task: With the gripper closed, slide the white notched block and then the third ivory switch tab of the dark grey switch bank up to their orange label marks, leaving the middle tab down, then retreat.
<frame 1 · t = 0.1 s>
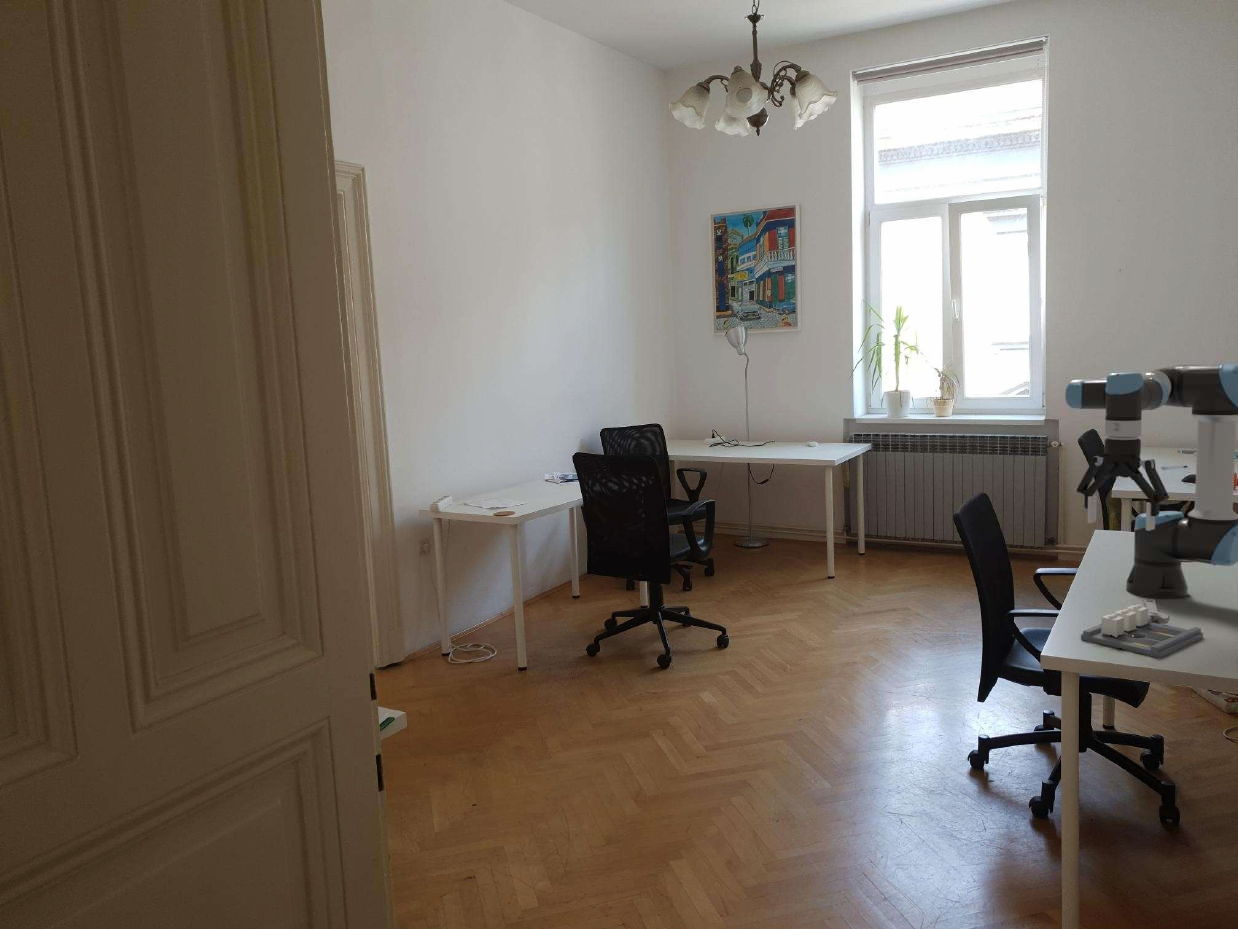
hand: (1120, 526, 214), 28 cm above the table, fingers open, 13 cm apart
adjustable wrench: (1154, 615, 233), on the table, touching switch bank
tab 2: (1125, 619, 219), point 4 cm above the table, slide at 0.0 cm
switch bank: (1141, 638, 217), on the table
tab 3: (1112, 624, 216), point 4 cm above the table, slide at 0.0 cm
white notched block 1: (1136, 614, 223), point 4 cm above the table, slide at 0.0 cm
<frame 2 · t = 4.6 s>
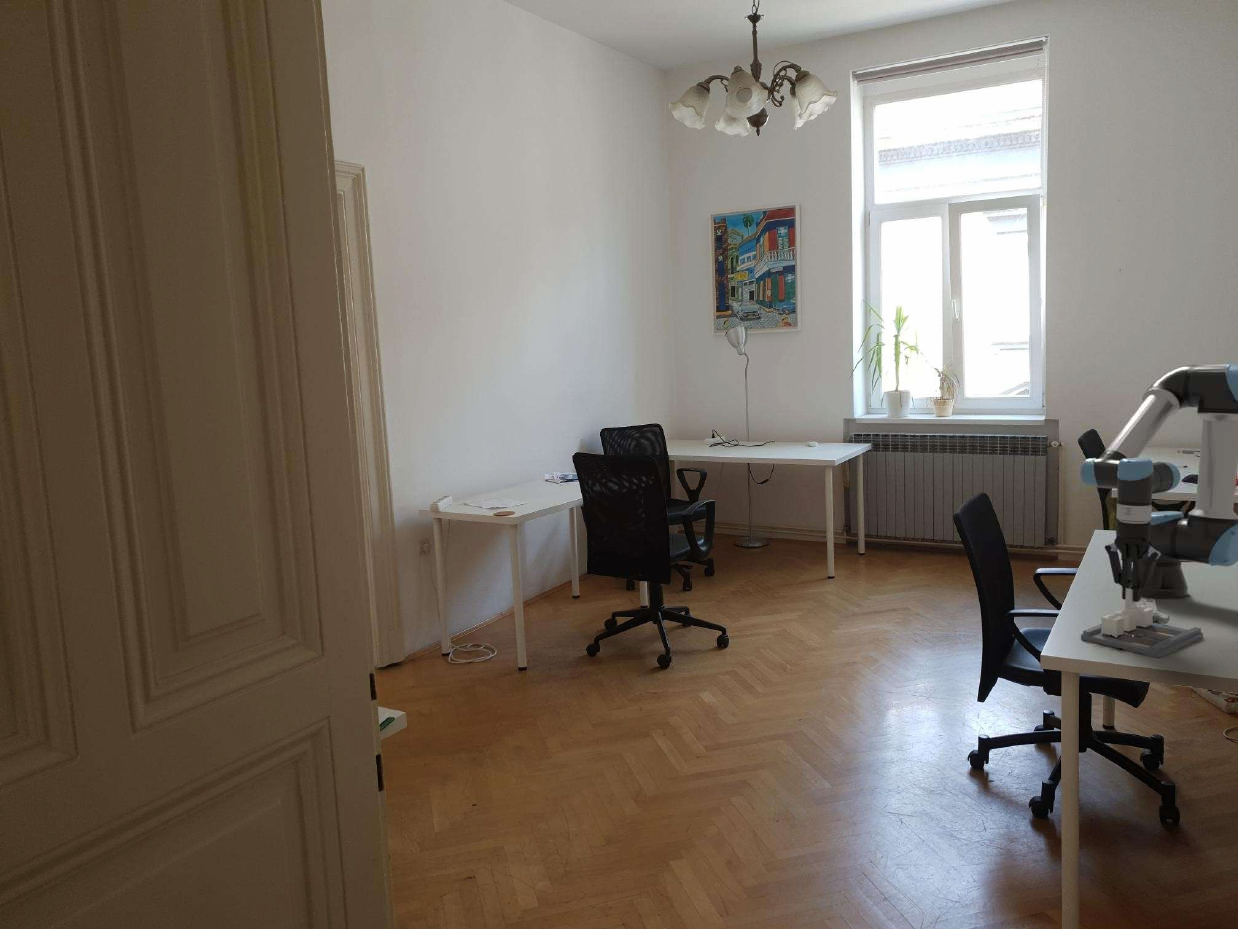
hand: (1130, 613, 224), 4 cm above the table, fingers closed
white notched block 1: (1141, 615, 222), point 4 cm above the table, slide at 1.1 cm, touching gripper
everything else where it was.
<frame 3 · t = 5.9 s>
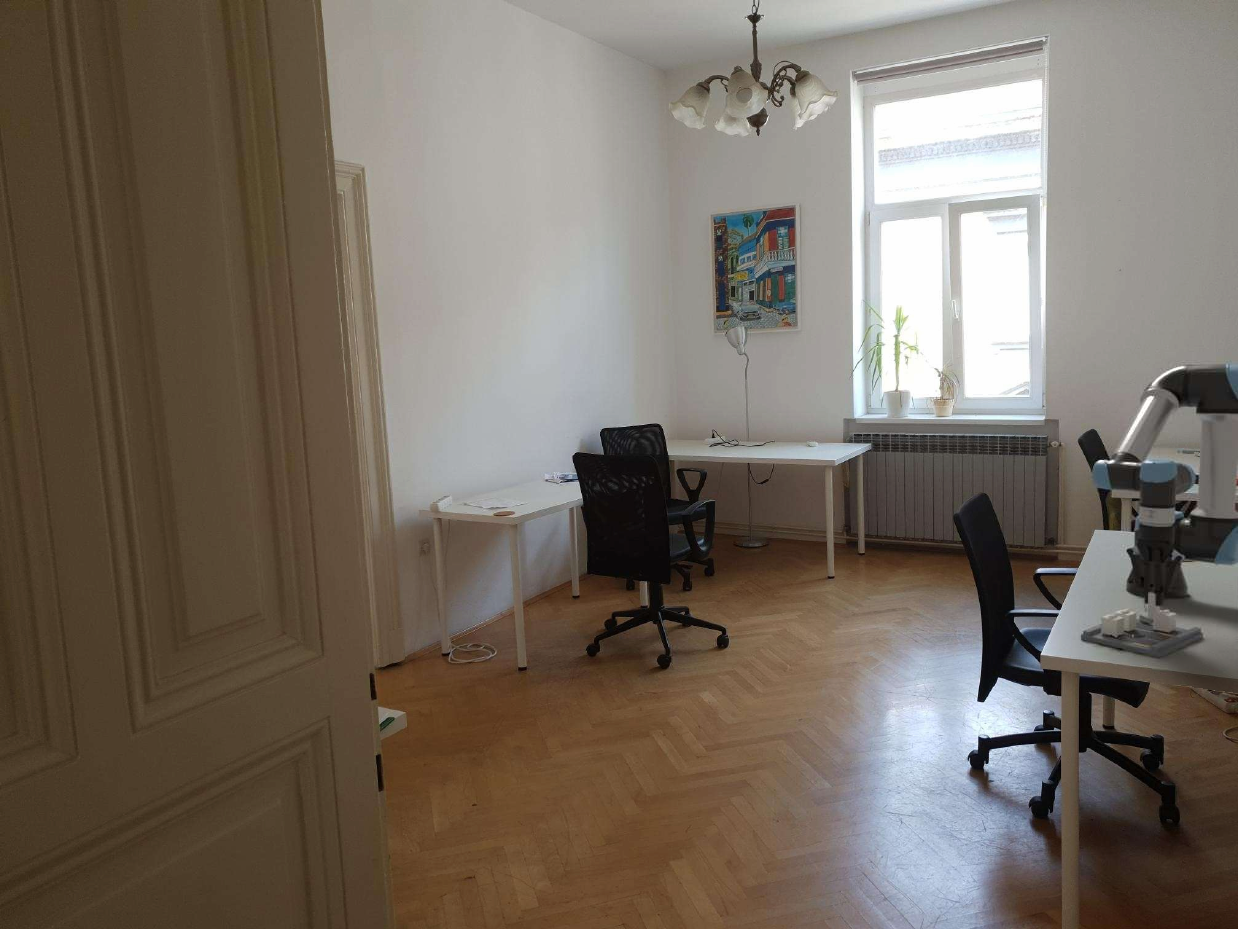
hand: (1153, 617, 220), 4 cm above the table, fingers closed
white notched block 1: (1164, 620, 218), point 4 cm above the table, slide at 6.4 cm, touching gripper
everything else where it was.
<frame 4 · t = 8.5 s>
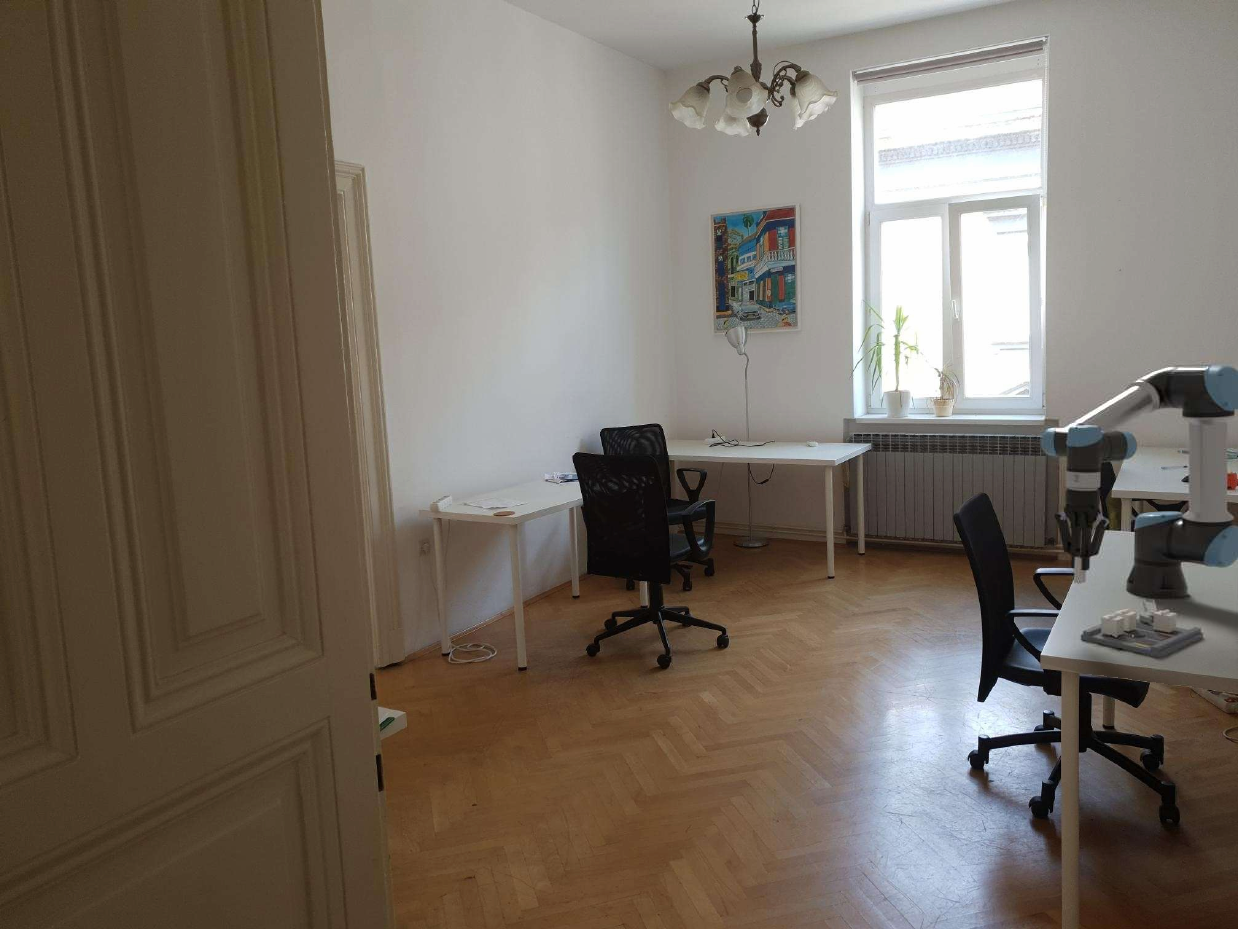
hand: (1079, 582, 221), 13 cm above the table, fingers closed
white notched block 1: (1165, 620, 217), point 4 cm above the table, slide at 6.5 cm
everything else where it was.
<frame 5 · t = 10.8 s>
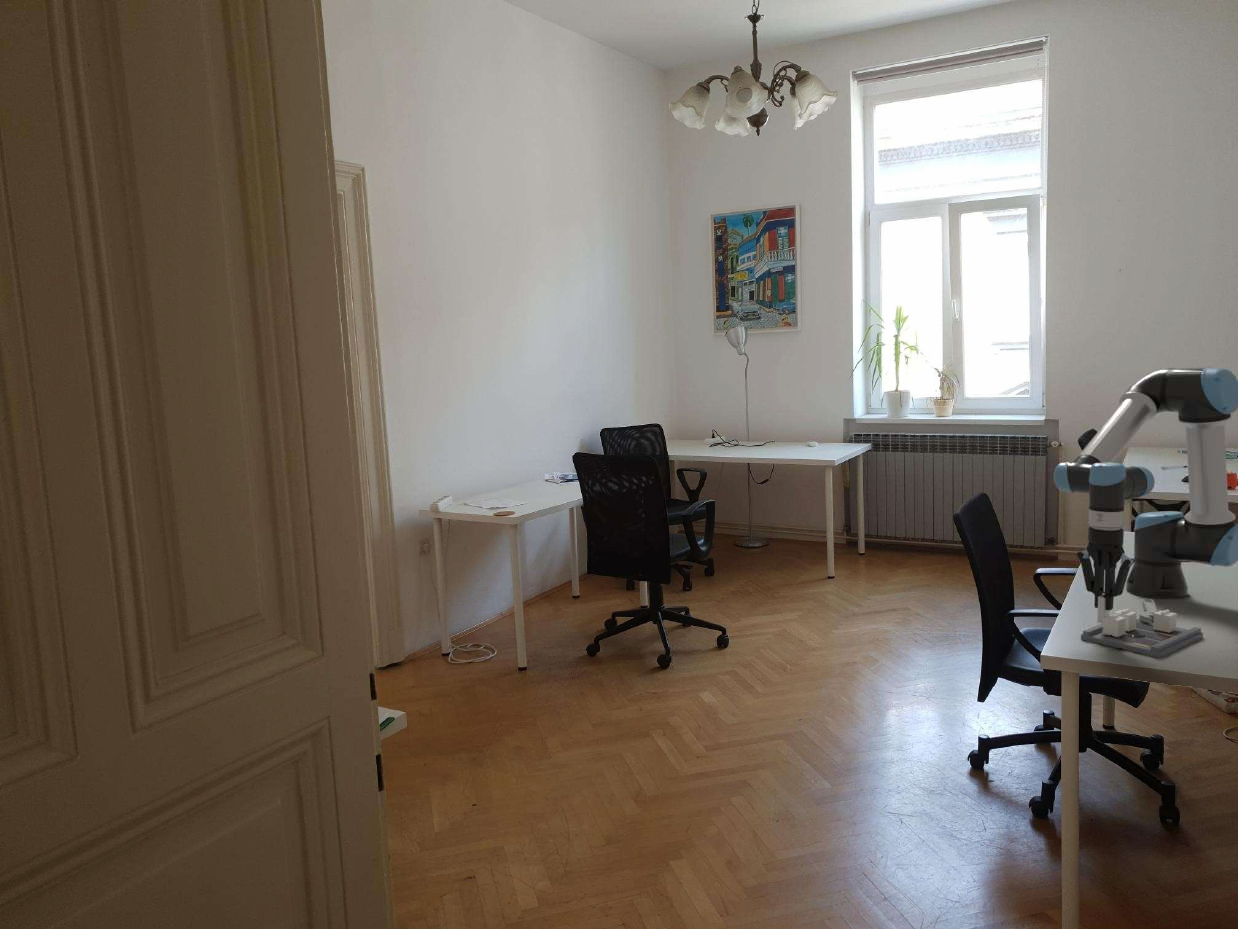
hand: (1103, 622, 218), 4 cm above the table, fingers closed
tab 3: (1114, 624, 216), point 4 cm above the table, slide at 0.4 cm, touching gripper
everything else where it was.
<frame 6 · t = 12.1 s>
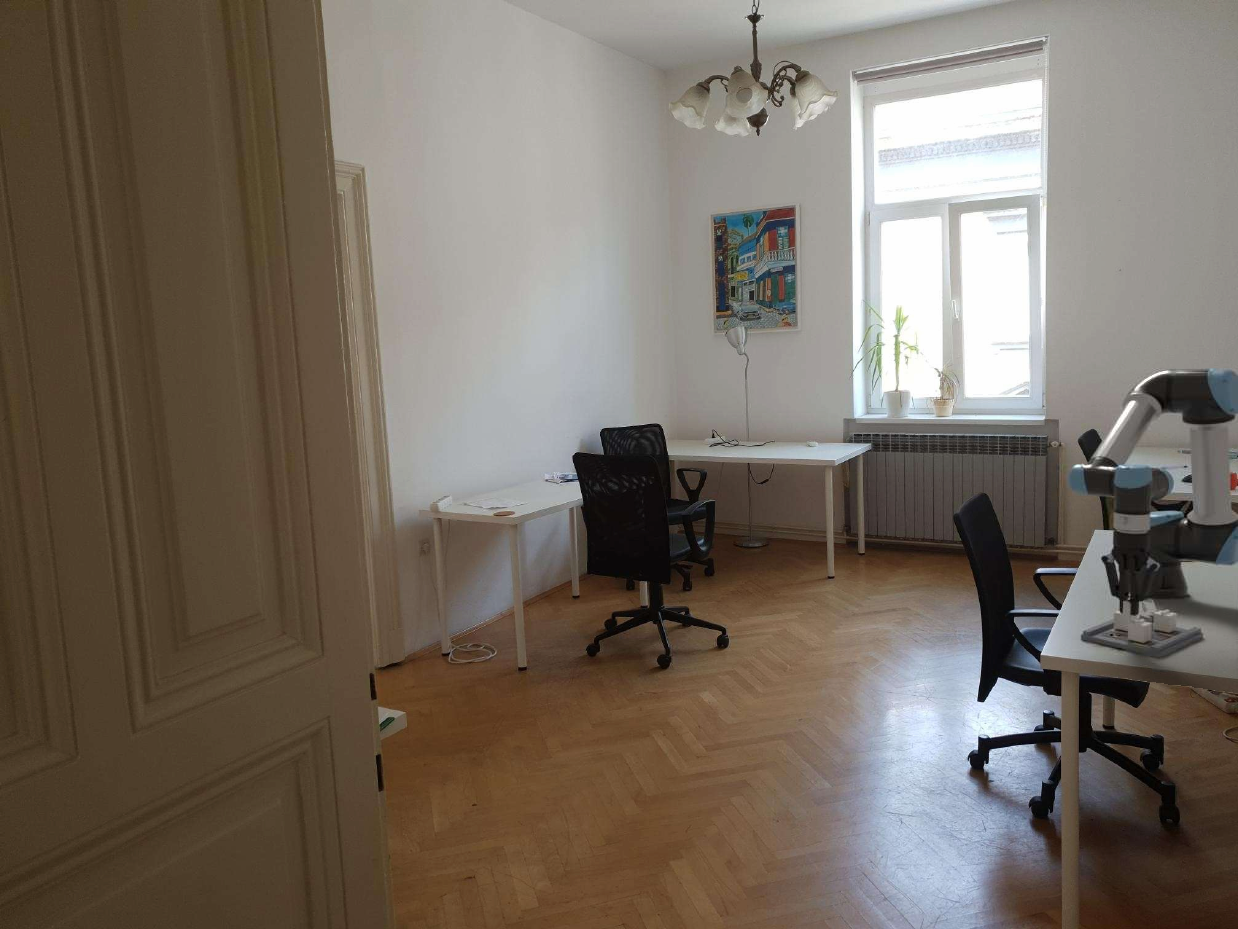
hand: (1128, 627, 213), 4 cm above the table, fingers closed
tab 3: (1139, 630, 211), point 4 cm above the table, slide at 6.3 cm, touching gripper
everything else where it was.
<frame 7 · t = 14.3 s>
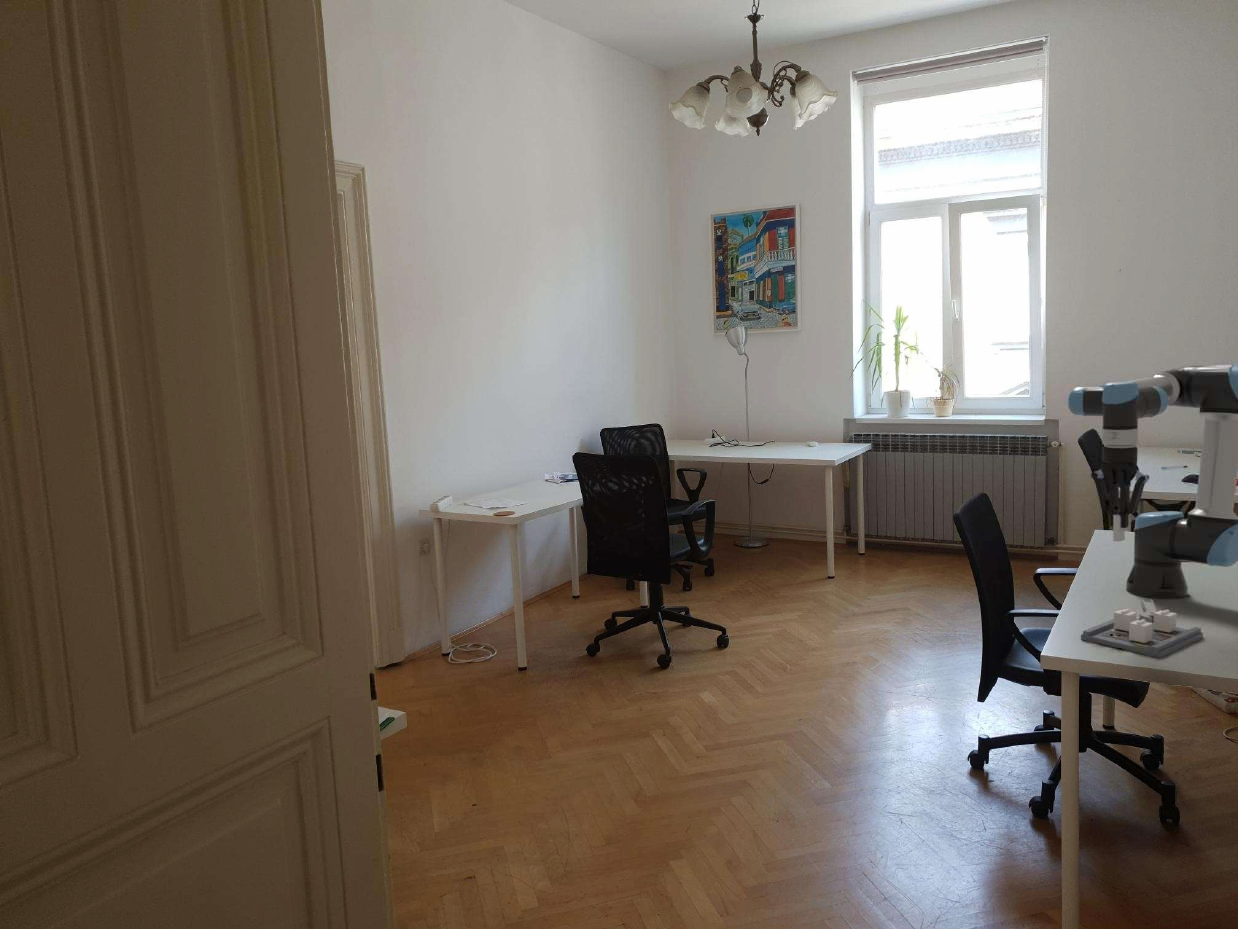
hand: (1118, 540, 221), 23 cm above the table, fingers closed
tab 3: (1140, 630, 211), point 4 cm above the table, slide at 6.5 cm
everything else where it was.
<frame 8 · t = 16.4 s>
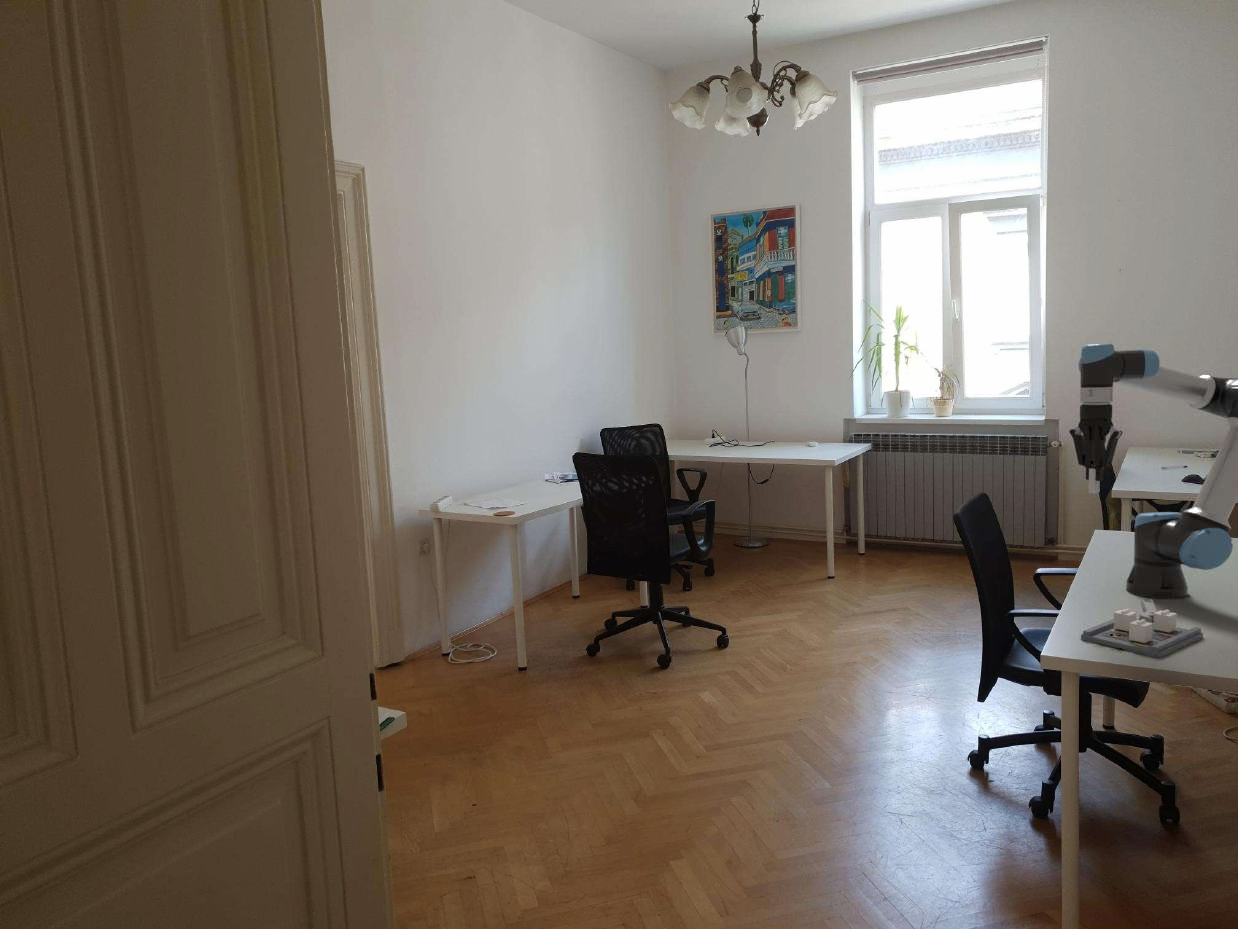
hand: (1094, 492, 236), 32 cm above the table, fingers closed
nothing on the table moved.
at the end: white notched block 1 slide at 6.5 cm; tab 3 slide at 6.5 cm; tab 2 slide at 0.0 cm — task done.
